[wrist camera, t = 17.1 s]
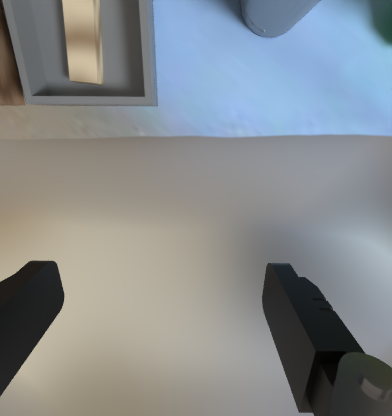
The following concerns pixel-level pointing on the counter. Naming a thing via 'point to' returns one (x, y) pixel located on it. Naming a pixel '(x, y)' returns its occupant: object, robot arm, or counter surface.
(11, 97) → the walnut pocket board
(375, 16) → the counter surface
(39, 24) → the charcoal tray
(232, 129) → the counter surface
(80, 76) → the maple bar
